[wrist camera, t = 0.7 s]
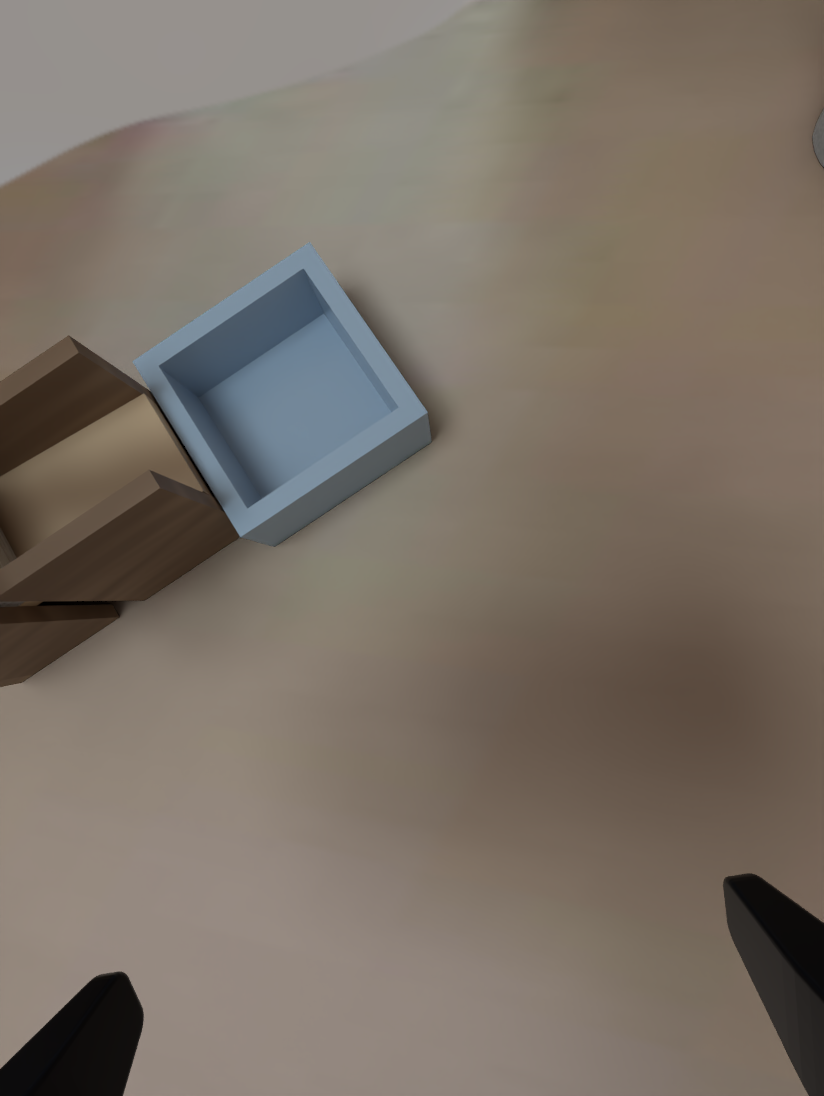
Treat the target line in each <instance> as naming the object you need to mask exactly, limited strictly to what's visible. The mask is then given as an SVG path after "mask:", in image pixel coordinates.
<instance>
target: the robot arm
mask: <svg viewBox="0 0 824 1096" xmlns="http://www.w3.org/2000/svg"><path fill="white" fill-rule="evenodd" d="M723 888H724V898H725V907H726V916H727V924H728V928H729V931H730V934H731V937H732V939H733V942H734V944H735V946H736V948H737V950H738V952H739V954H740V956H741V958H742V961H743V963H744V965H745V967H746V969H747V971H748V973H749V975H750V977H751V979H752V981H753V983H754V985H755V987H756V990H757V992H758V994H759V996H760V998H761V1000H762V1002H763V1004H764V1006H765V1008H766V1010H767V1012H768V1014H769V1017H770V1019H771V1021H772V1023H773V1025H774V1027H775V1029H776V1031H777V1033H778V1035H779V1037H780V1039H781V1041H782V1044H783V1046H784V1048H785V1050H786V1052H787V1054H788V1056H789V1058H790V1060H791V1062H792V1064H793V1066H794V1068H795V1070H796V1072H797V1074H798V1076H799V1078H800V1080H801V1082H802V1084H803V1086H804V1088H805V1090H806V1091H807V1093H808V1095H809V1096H824V923H823V922H822V921H820V920H819V919H818V918H816V917H815V916H813V915H812V914H811V913H809V912H808V911H806V910H805V909H804V908H802V907H801V906H800V905H798V904H797V903H795V902H794V901H793V900H791V899H790V898H788V897H787V896H786V895H784V894H783V893H782V892H780V891H779V890H777V889H776V888H775V887H773V886H772V885H770V884H769V883H768V882H766V881H765V880H764V879H762V878H761V877H759V876H757V875H755V874H750V873H748V874H741V875H735V876H728V877H726V878H725V879H724V882H723ZM143 1018H144V1014H143V1008H142V1006H141V1003H140V1001H139V999H138V997H137V995H136V993H135V990H134V988H133V986H132V984H131V982H130V980H129V977H128V976H127V975H126V974H125V973H124V972H113V973H106V974H101V975H98V976H96V977H95V978H93V979H92V980H91V981H90V982H89V983H88V984H87V985H86V986H84V987H83V988H82V989H81V990H80V991H79V992H78V993H77V994H76V995H75V996H74V997H73V998H72V999H71V1000H70V1001H69V1002H68V1003H67V1004H66V1005H65V1006H64V1007H63V1008H62V1009H61V1010H60V1011H59V1012H58V1013H57V1014H56V1015H55V1016H54V1017H53V1018H52V1019H51V1020H50V1021H49V1022H48V1023H47V1024H46V1025H45V1026H44V1027H43V1028H42V1029H41V1030H40V1031H39V1032H38V1033H37V1034H36V1035H34V1036H33V1037H32V1038H31V1039H30V1040H29V1041H28V1042H27V1043H26V1044H25V1045H24V1046H23V1047H22V1048H21V1049H20V1050H19V1051H18V1052H17V1053H16V1054H15V1055H14V1056H13V1057H12V1058H11V1059H10V1060H9V1061H8V1062H7V1063H6V1064H5V1065H4V1066H3V1067H2V1068H1V1069H0V1096H123V1094H124V1090H125V1087H126V1083H127V1080H128V1076H129V1073H130V1070H131V1066H132V1063H133V1059H134V1056H135V1052H136V1049H137V1046H138V1042H139V1039H140V1035H141V1032H142V1027H143Z"/></svg>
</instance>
